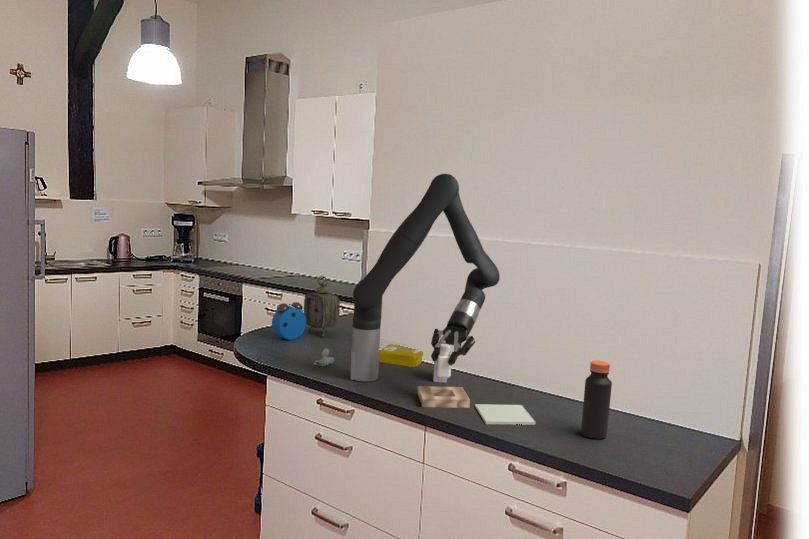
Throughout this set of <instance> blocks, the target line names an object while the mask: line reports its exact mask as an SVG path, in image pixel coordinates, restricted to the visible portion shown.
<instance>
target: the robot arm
mask: <svg viewBox="0 0 809 539" xmlns="http://www.w3.org/2000/svg"><path fill="white" fill-rule="evenodd" d="M459 192H460V186H459V182H458V180H457V178H455V177H454V175H451V174H450V173H441V174H437V175H436V176H435V177H433V178H432V180H431V182H430V184H429V186H428V188H427V190H426V192H424V193H425V194H423V197H422V198H421V200H420V202H419V203H418V204H417V206H416V207H415V208H414V209H413V210H412V211H411V212H410V213H409V215H407V216H406V218H405V219H404V220H403V221H402V222H401V223H400V225H399V226H398V227H397V228H396V230H395V231H394V233H393V234H392V236H391V237H390V238H389V240H388V242H387V243H386V245H385V246H384V248H383V250H382V252H381V253H380V255H379V257H378V259H377V260H376V263H375V264H374V265H373V267H372V268H371V270H370V271H369V272H367V274H366V275H365V276H364V277H363V278H362V279H361V280H360V281H358V282H357V283H356V285H355V287H354V288H353V291H352V296H353V297H352V298H353V300H354V302H353V303H354V305H353V316H352V329H351V330H352V334H351V352H350V380H351V381H357V382H374V381H376V380H378V379H379V372H380V371H379V365H380V362H379V350H380V349H381V348H380V346H381V344H380V343H381V326H382V309H383V308H382V307H383V296H384V295H385V292H386V290H387V288H388V287H389V286H390V284H391V283H392V281H393V280H394V278H395V277H396V276H397V274H398V273H399V272H401V271H402V269H403V268H404V267H405V266H406V265H407V264H408V262H410V261H411V259H412V257H413V256H414V255H415V253H416V252H417V251H418V250H419V248H420V247H421V245H422V244H423V243H424V241H425V240H426V238H427V236H428V235H429V232H430V231H431V229H432V227H433V225H434V223H435V222H436V220H437V219H438V218H439V216H440V215H441V214H442V213H443V214H444V216H445V217H446V219H447V221H448V223H449V226H450V229H451V231H452V235H453V237H454V240H455V242H456V244H457V246H458V250H459V251H460V254H461V255H462V257H463V259H464V261H465V263H467V264H473V265H475V267H476V268H474V269H472V270H471V272H469V273H468V275H467V279H466V282H465V288H464V292H463V294H462V296H461V298H460V299H459V302H458V303H457V304H456V305H455V308H454V310H453V311H452V314H451V316H450V317H449V319H448V321H447V324H446V327H445V328H443V329H441V330H439V329H438V328H435V329H434V331H433V334H432V338H431V342H430V344H431V346H432V347H433V351H432V353H431V356H430V357H431V360H432V362H433V363H434V362H436V360H437V359H438V355H439V354H440V345H441V344H449V345H451V346H454V348H453V351H452V352H451V353H450V355H451V356H450V358H449V360H448V364H449V365H451V367H452V366H453V365H455V364H456V361H457V359H458V357H459V356H461V355H462V356H466V355H467V354H468V353H469V351H470V350H471V349H472V347H473V346H474V345H475V343H476V341H475V338H474V336H473V335H470V334H471V331H472V329H473V327H474V326H475V323H476V322H477V319H478V316H479V314H480V312H481V309H482V307H483V305H484V303H485V301H486V294H485V292H484V290H485V289H488V288H491V287H492V288H493V287H494V286H496V285H498V283H500V279H501V278H500V277H501V276H500V271H499V269H498V267H497V265H496V264H495V263H494V261H493V260H492V259H491V257H490V256H489V255H488V253H486V251H485V250H484V247H483V245H482V242H481V241H480V238H479V236H478V234H477V232H476V230H475V228H474V226H473V225H472V223H471V221H470V219H469V217H468V216H467V213H466V211H465V209H464V206H463V203H462V200H461V196H460V193H459ZM463 343H464V344H463ZM462 344H463V345H462Z"/></svg>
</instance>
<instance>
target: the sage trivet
mask: <svg viewBox="0 0 809 539" xmlns="http://www.w3.org/2000/svg"><path fill="white" fill-rule="evenodd" d="M475 409H476V410H477V412H478V413H479V415H480V417H481V419H482V420H483V422H484V423H485V425H512V426H513V425H514V426H515V425H516V424H518V426H519V424H520V425H521V424H522V425H523V426H524V425H525V426H528V425H530V426H531V425H532V426H533V425H534V426H535V425H536V424H537V423H536V421H535V420H534V418H533V417H532V416H531V414H530V413H529V412H528V411H527V410H526V409H525V407H524V405H522V404H486V403H485V404H483V403H482V404H481V403H480V404H479V403H478V404H477V403H475ZM522 425H521V426H522ZM516 426H517V425H516Z"/></svg>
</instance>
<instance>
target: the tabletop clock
mask: <svg viewBox="0 0 809 539" xmlns="http://www.w3.org/2000/svg"><path fill="white" fill-rule="evenodd" d="M320 278H321V279H325V282H326V284H325V283H324V282H321V283H320ZM317 283H318V285H319V287H318V288H316V291H315V292H307V293H305V296H304V300H303V313H304V315H305V317H306V326H309V327H310V328H307V331H306V332H307V333H311V331H312V329H313V328H314V329H323V330H322V331H323V332H322V333H321V337H322V338H325V337H326V335H327V333H328V330H326V329H327V328H333V327H336V326H337V325H338V324H339V320H340V312H341V310H340V308H341V306H340V305H341V304H340V298H339V297H338V296H337V295H335V294H333V293H330V292H329V289H328V288H327V287H326V286H327V285H328V284H329V282H328V278H327V277H326V276H324V275H320V276H319V277H318V278H317Z"/></svg>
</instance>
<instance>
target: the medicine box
mask: <svg viewBox="0 0 809 539" xmlns="http://www.w3.org/2000/svg"><path fill="white" fill-rule="evenodd" d="M437 366H438V359H437V360H436V362H434V361H433V378H432V379H433V382H434V383H440V384H447V382H448V380H449V378H450V377H438V376H437Z"/></svg>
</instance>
